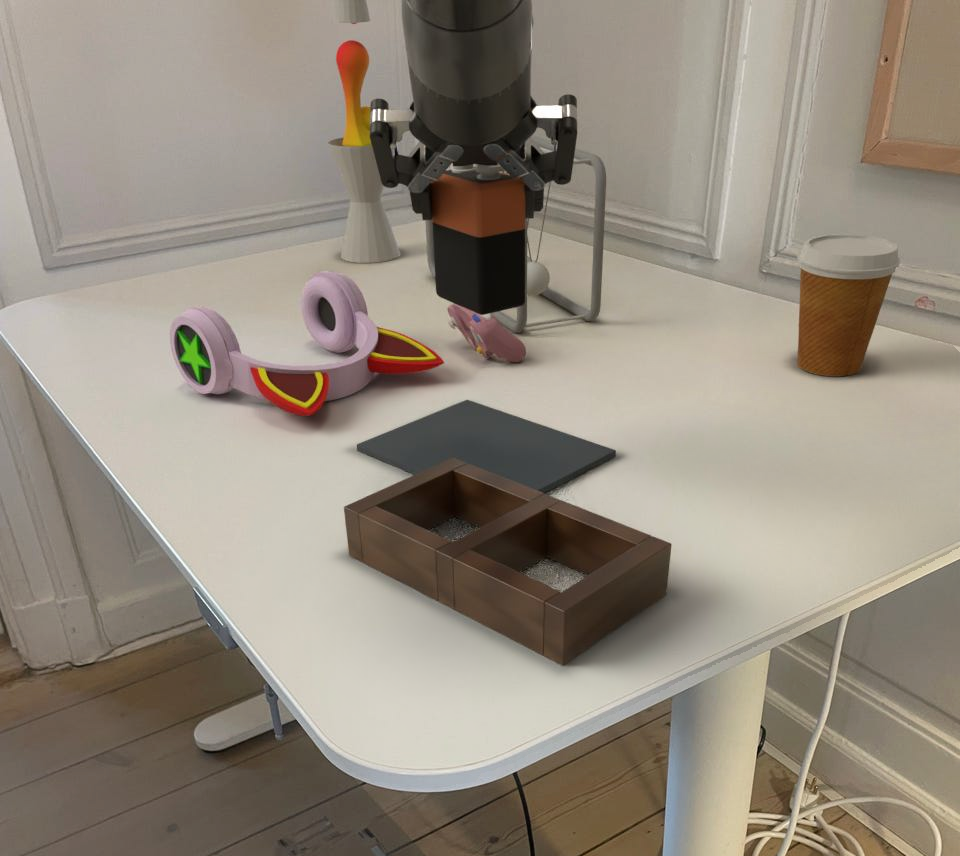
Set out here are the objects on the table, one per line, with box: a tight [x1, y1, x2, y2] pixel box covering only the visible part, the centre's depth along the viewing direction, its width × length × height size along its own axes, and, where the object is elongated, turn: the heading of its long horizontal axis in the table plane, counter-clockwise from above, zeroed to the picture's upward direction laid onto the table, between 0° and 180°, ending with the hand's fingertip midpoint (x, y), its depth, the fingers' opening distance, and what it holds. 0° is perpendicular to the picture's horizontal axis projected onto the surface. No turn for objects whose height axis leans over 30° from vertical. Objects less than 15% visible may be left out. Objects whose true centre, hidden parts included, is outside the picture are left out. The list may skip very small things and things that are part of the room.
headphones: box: [169, 270, 445, 417], centre depth 100 cm, size 20×10×20 cm
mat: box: [356, 399, 617, 494], centre depth 87 cm, size 18×14×1 cm
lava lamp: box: [327, 0, 401, 264], centre depth 135 cm, size 9×9×35 cm
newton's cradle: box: [424, 134, 607, 334], centre depth 120 cm, size 30×10×18 cm, turn 23°
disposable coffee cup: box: [796, 233, 901, 377], centre depth 100 cm, size 10×10×12 cm
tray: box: [343, 458, 673, 666], centre depth 69 cm, size 20×11×4 cm, turn 46°
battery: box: [431, 164, 525, 315], centre depth 75 cm, size 4×7×10 cm, turn 34°
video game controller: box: [446, 303, 527, 363], centre depth 107 cm, size 10×5×7 cm, turn 23°
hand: (478, 208), depth 75 cm, fingers closed on battery, 7 cm apart
